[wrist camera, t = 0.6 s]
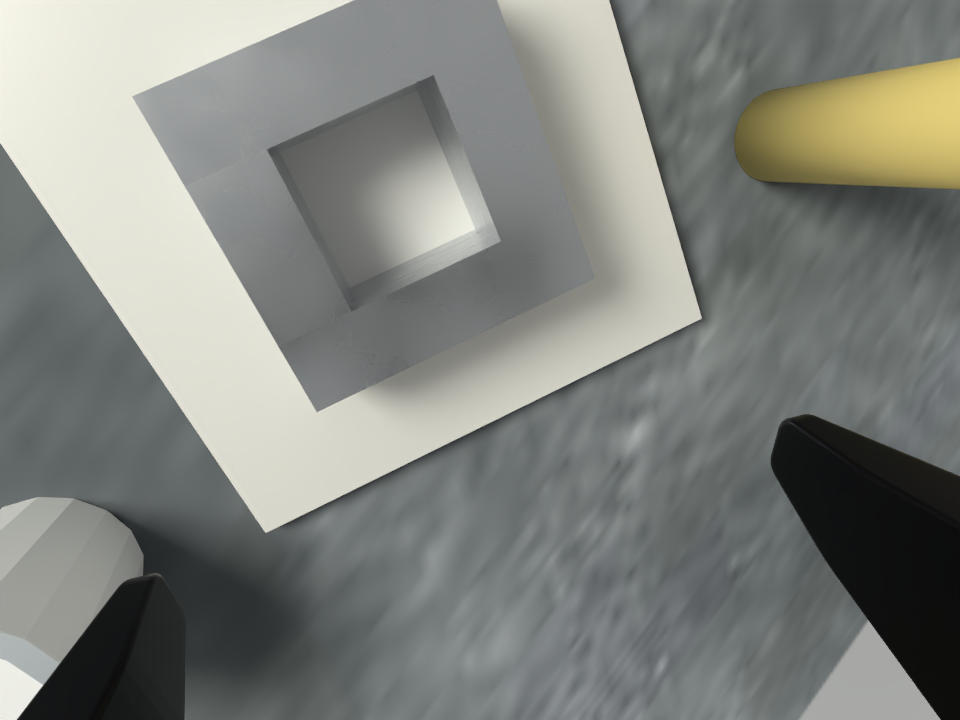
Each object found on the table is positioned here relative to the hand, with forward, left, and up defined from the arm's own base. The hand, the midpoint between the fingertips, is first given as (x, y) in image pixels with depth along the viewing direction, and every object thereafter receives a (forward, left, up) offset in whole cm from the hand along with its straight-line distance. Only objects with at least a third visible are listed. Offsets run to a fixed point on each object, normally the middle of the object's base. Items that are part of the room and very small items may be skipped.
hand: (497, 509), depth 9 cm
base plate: (+4, -1, -14) cm, 14 cm away
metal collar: (+4, -1, -14) cm, 14 cm away
